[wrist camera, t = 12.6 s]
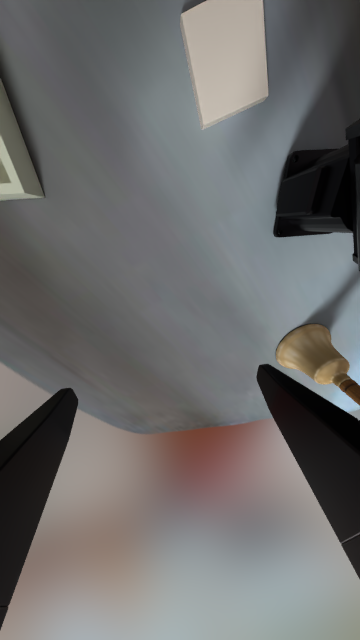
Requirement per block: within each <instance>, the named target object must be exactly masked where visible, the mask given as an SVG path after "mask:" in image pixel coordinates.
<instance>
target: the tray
mask: <svg viewBox="0 0 360 640" xmlns="http://www.w3.org/2000/svg"><path fill="white" fill-rule="evenodd" d="M34 198H45V196H44V193H43V191H42V188H41V185H40V183H39V180H38V177H37V175H36V172H35V169H34V166H33V164H32V161H31V158H30V156H29V153H28V150H27V148H26V145H25V142H24V140H23V137H22V134H21V131H20V129H19V126H18V123H17V121H16V118H15V115H14V113H13V110H12V107H11V105H10V102H9V99H8V96H7V94H6V91H5V88H4V86H3V83H2V80H1V78H0V200H17V199H34Z"/></svg>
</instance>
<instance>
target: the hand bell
mask: <svg viewBox="0 0 360 640" xmlns="http://www.w3.org/2000/svg"><path fill="white" fill-rule="evenodd" d="M276 359H277V361H278V362H279V364H281V365H282V366H284V367H287V368H291V369H298V370H300V371H302V372H304V373H305V374H307V375H308V376H309V377H311V378H312V379H313V380H314V381H316V382H317V383H319V384H330V383H334V384H335V385H336V386H338V387H339V388H340V389H341V390H342V391H343V392H345V393H346V394H347V395H348V396H349V397H350V398H352V399H353V400H354V401H355V402H356V403H357V404H359V405H360V386H359V385H358V384H357V383H356V382H355V381H354V380H352V379H351V378H350V377H349V376H348V375H347V372H348V370H349V366H350V365H349V362H348V361H347V360H346V359H345V358H344V357H343V356H342V355H341V354H340V353H339V352H338V351H337V350H336V349H335V348H334V347H333V345H332V343H331V335H330V332H329V331H328V329H327V328H326V327H324V326H323V325H319V324H308V325H304V326H301V327H299V328H297V329H295V330H293V331H292V332H290V333H289V334H288V335H287V336H286V337H285V338H284V339H283V340H282V341H281V342H280V344H279V346H278V348H277V350H276Z"/></svg>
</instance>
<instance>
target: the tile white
mask: <svg viewBox="0 0 360 640" xmlns="http://www.w3.org/2000/svg"><path fill="white" fill-rule="evenodd" d="M180 27H181V32H182V37H183V42H184V47H185V52H186V57H187V61H188V66H189V71H190V76H191V81H192V86H193V91H194V96H195V100H196V105H197V110H198V115H199V120H200V125H201V130H203V129H205V128H207V127H210V126H212V125H214V124H216V123H218V122H220V121H222V120H225V119H227V118H229V117H231V116H233V115H235V114H237V113H240V112H242V111H244V110H246V109H248V108H250V107H253V106H255V105H257V104H259V103H261V102H263V101H264V100H265V99H266V98H267V97H268V79H267V62H266V45H265V28H264V11H263V0H207V1H205V2H203V3H201V4H199V5H197V6H195V7H193V8H191V9H190V10H188V11H186V12H184V13H182V14H181V22H180Z"/></svg>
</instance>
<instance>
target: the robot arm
mask: <svg viewBox="0 0 360 640" xmlns="http://www.w3.org/2000/svg"><path fill="white" fill-rule="evenodd" d="M345 130H346V140H349V145H347V146H344V147H342V148H340V149H323V150H302V151H295V152H293V153H292V154H290V155H289V157H288V159H287V163H286V169H285V174H284V179H283V182H282V184H281V189H280V195H279V200H278V206H277V211H276V215H277V216H276V222H275V227H274V236H275V237H291V236H304V235H317V234H330V233H333V232H340V233H353V239H354V253H353V261H354V262H356V263H357V264H358V266H359V271H360V119H359V120H358V121H356V122H355V123H353V124H352V125H350V126H349V127H347V128H346V129H345ZM293 157H295V162H293ZM279 230H281V232H280V234H278V231H279ZM257 382H258V384H259V386H260V389H261V391H262V394H263V396H264V398H265V401H266V403H267V406H268V408H269V410H270V412H271V414H272V416H273V418H274V420H275V422H276V424H277V426H278V427H279V429H280V431H281V433H282V435H283V436H284V439H285V440H286V442H287V444H288V446H289V448H290V450H291V452H292V453H293V455H294V457H295V459H296V461H297V463H298V465H299V467H300V468H301V470H302V472H303V474H304V476H305V478H306V480H307V481H308V483H309V485H310V487H311V489H312V491H313V493H314V495H315V496H316V498H317V500H318V502H319V504H320V506H321V507H322V509H323V511H324V513H325V515H326V517H327V519H328V521H329V522H330V524H331V526H332V528H333V530H334V532H335V534H336V535H337V537H338V539H339V541H340V543H342V547H343V549H344V551H345V553H346V555H347V556H348V558H349V560H350V562H351V564H352V565H353V568H354V569H355V571H356V573H357V575H358V577H359V579H360V420H358V419H357V418H355V417H354V416H352V415H350V414H349V413H347V412H346V411H344V410H342V409H341V408H339V407H337V406H336V405H334V404H333V403H331V402H329V401H328V400H326V399H324V398H323V397H321V396H320V395H318V394H316V393H315V392H313V391H312V390H310V389H308V388H307V387H305V386H303V385H302V384H300V383H299V382H297V381H295V380H294V379H292V378H290V377H289V376H287V375H286V374H284V373H282V372H281V371H279V370H277V369H276V368H274V367H273V366H271V365H269V364H262V365H259V368H258V372H257ZM77 406H78V398H77V396H76V395H75V393H74V391H73V389H72V388H65V389H61V390H59V391H58V392H57V393H56V394H55V395H53V396H52V397H51V398H50V399H49V400H47V401H46V402H45V403H44V404H43V405H42V406H40V407H39V408H38V409H37V410H36V411H34V412H33V413H32V414H31V415H30V416H29V417H28V418H26V419H25V420H24V421H23V422H21V423H20V424H19V425H18V426H17V427H16V428H14V429H13V430H12V431H11V432H10V433H8V434H7V435H6V436H5V437H4V438H3V439H1V440H0V630H1V627H2V624H3V621H4V618H5V616H6V613H7V610H8V605H9V604H10V601H11V599H12V596H13V593H14V590H15V587H16V585H17V582H18V579H19V576H20V574H21V571H22V568H23V565H24V562H25V560H26V557H27V554H28V551H29V549H30V546H31V543H32V540H33V537H34V535H35V532H36V529H37V526H38V523H39V521H40V518H41V515H42V512H43V510H44V507H45V504H46V501H47V498H48V496H49V493H50V490H51V487H52V485H53V482H54V479H55V476H56V473H57V471H58V468H59V465H60V463H61V460H62V457H63V454H64V451H65V449H66V446H67V443H68V440H69V437H70V433H71V429H72V425H73V422H74V417H75V414H76V410H77Z"/></svg>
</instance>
